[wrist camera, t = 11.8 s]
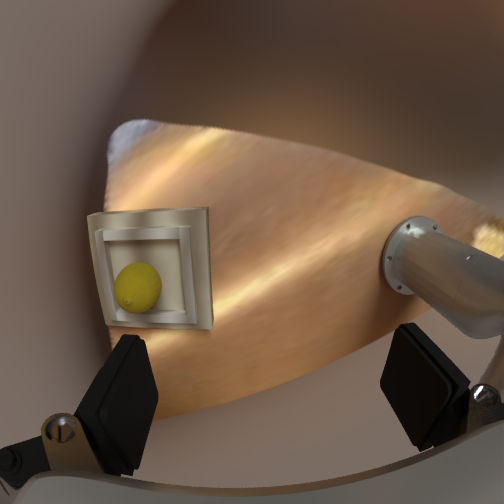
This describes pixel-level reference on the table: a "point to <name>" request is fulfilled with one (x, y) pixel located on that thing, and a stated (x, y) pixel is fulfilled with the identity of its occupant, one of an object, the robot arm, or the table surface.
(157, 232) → the stand
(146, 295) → the lemon
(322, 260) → the table surface
